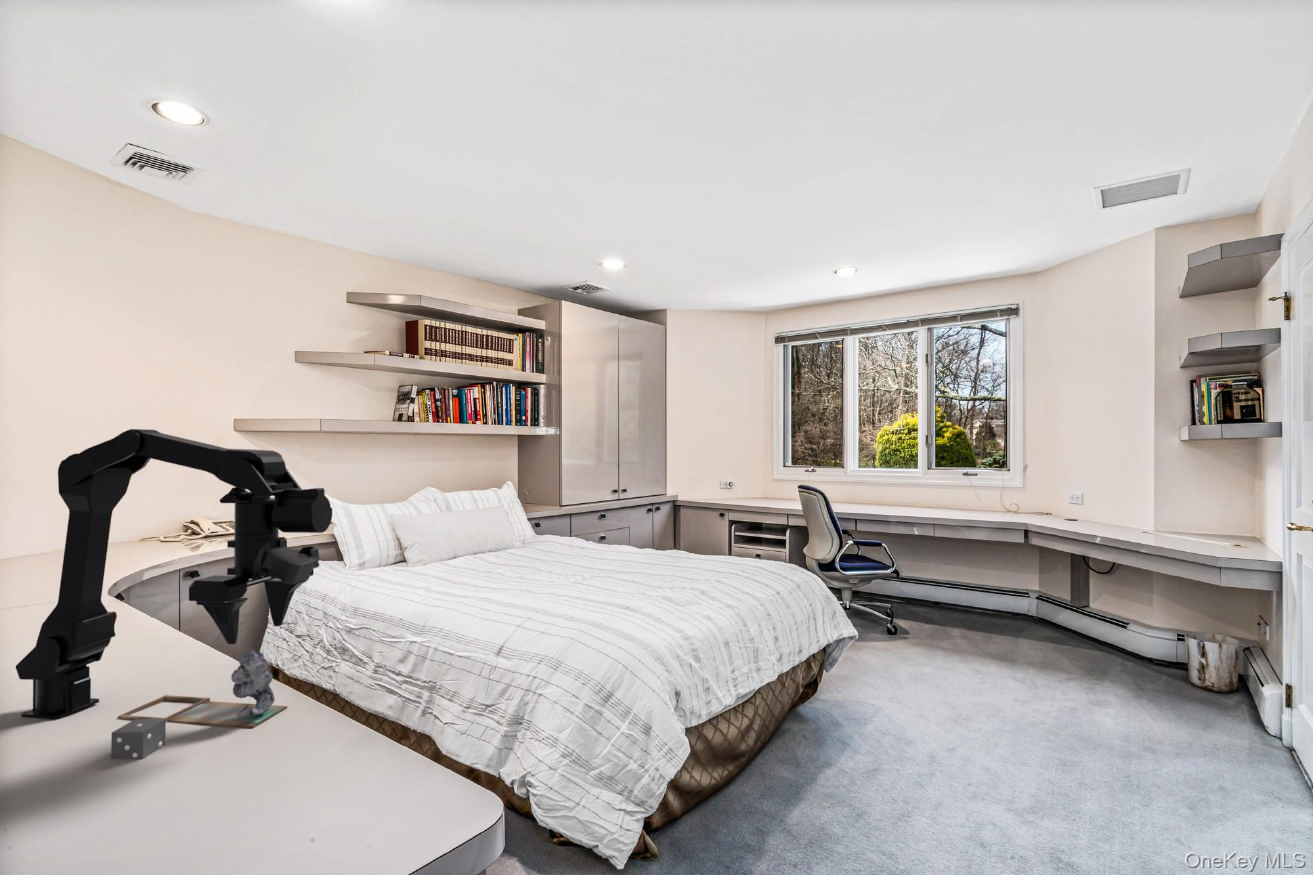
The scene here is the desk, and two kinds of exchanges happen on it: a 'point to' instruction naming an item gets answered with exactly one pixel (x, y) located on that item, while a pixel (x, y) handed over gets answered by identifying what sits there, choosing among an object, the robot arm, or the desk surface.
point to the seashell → (253, 683)
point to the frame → (159, 700)
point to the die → (138, 739)
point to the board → (224, 715)
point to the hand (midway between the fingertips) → (256, 634)
